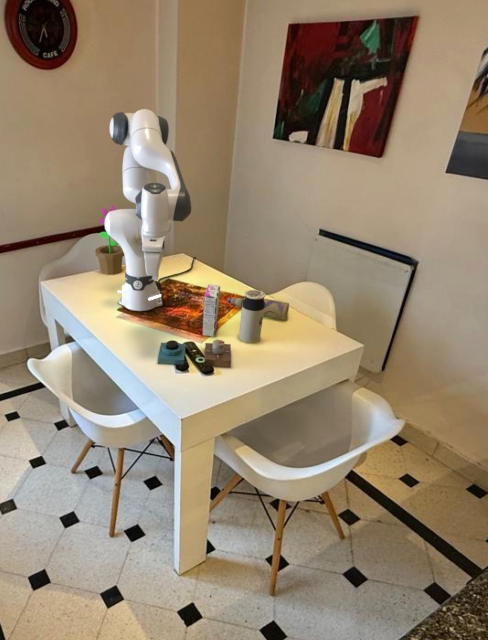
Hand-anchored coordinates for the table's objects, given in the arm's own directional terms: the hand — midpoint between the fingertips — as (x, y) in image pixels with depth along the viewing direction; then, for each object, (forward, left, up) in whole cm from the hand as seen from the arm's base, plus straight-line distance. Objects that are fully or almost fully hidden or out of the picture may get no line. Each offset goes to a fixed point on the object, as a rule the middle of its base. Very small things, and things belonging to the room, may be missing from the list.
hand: (155, 278), depth 158 cm
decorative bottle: (-28, +40, -24) cm, 54 cm away
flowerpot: (-66, -30, -24) cm, 77 cm away
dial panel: (+11, +23, -24) cm, 35 cm away
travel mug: (-5, +35, -24) cm, 43 cm away
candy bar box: (-10, +20, -24) cm, 33 cm away
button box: (+11, +7, -24) cm, 27 cm away
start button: (+11, +7, -20) cm, 24 cm away
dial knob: (+11, +23, -21) cm, 33 cm away
